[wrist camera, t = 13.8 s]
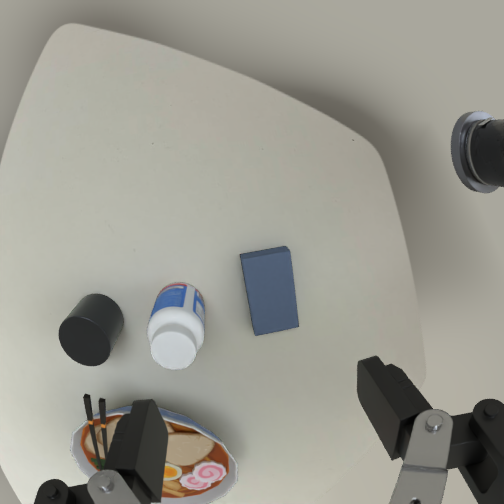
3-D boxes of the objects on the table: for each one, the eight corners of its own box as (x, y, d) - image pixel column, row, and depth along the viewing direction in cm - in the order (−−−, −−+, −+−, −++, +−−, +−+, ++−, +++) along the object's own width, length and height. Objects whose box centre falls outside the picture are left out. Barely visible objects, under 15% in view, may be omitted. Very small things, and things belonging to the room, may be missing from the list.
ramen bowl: (219, 485, 45) (222, 521, 37) (90, 462, 41) (80, 496, 33) (253, 383, 39) (262, 427, 31) (78, 350, 35) (55, 388, 27)
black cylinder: (125, 299, 34) (111, 323, 28) (122, 343, 36) (110, 372, 30) (77, 288, 33) (57, 310, 27) (77, 332, 35) (60, 358, 29)
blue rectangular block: (239, 253, 34) (241, 259, 32) (285, 245, 35) (290, 250, 33) (252, 327, 37) (255, 336, 35) (294, 319, 37) (299, 327, 35)
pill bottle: (149, 312, 35) (131, 360, 26) (168, 272, 34) (153, 312, 25) (192, 332, 36) (188, 384, 27) (213, 294, 35) (214, 340, 26)
